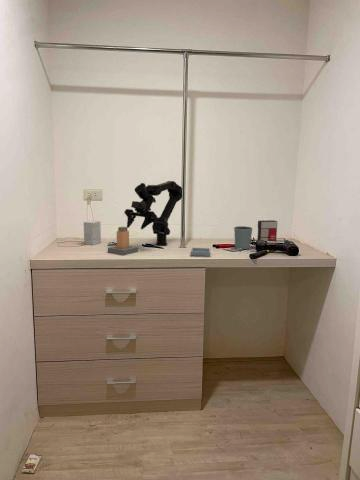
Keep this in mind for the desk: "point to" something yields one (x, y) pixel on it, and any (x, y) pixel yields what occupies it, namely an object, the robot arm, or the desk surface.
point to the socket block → (122, 250)
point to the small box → (92, 232)
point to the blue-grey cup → (243, 237)
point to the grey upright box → (267, 230)
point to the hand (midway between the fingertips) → (134, 228)
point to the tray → (200, 252)
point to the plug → (122, 238)
